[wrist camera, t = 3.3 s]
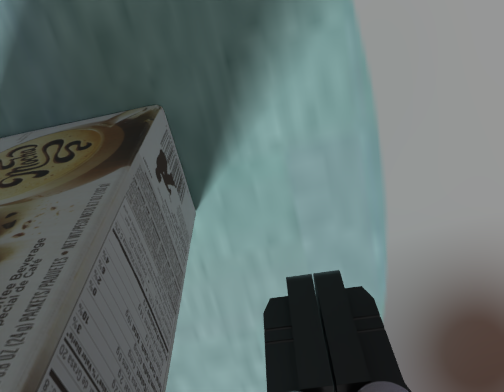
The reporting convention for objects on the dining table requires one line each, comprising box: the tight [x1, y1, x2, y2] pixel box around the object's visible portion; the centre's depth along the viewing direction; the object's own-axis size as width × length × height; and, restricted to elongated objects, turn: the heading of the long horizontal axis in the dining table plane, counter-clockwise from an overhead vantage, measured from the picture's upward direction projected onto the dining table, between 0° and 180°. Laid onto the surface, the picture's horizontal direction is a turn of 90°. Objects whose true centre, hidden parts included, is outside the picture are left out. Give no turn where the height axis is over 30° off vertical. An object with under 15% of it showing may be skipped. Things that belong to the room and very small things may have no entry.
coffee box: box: [0, 105, 196, 392], centre depth 15 cm, size 9×6×16 cm
